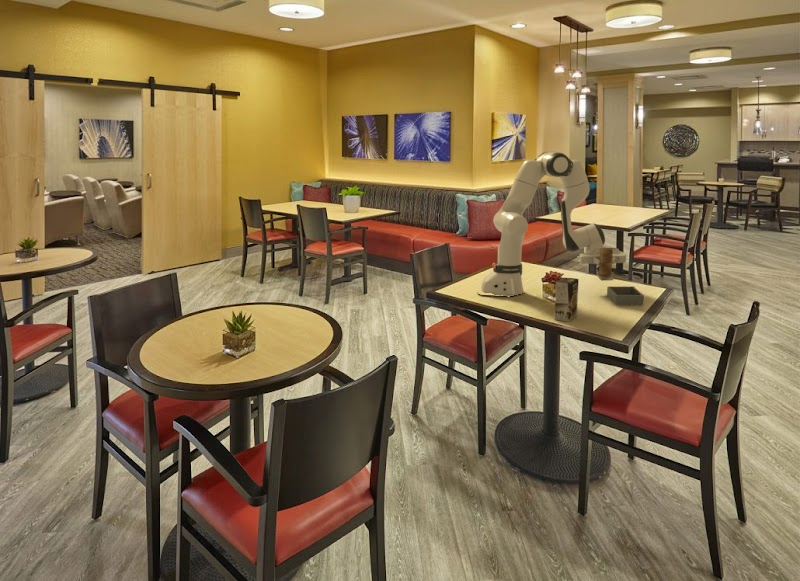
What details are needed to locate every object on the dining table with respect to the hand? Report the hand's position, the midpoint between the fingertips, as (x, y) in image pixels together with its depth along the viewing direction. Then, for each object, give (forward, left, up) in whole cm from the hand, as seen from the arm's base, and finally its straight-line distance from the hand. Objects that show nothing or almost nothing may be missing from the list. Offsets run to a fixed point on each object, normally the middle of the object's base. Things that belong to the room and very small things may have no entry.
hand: (606, 261), depth 249 cm
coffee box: (-21, -27, -18) cm, 39 cm away
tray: (+9, -1, -17) cm, 19 cm away
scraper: (0, +1, -8) cm, 8 cm away
